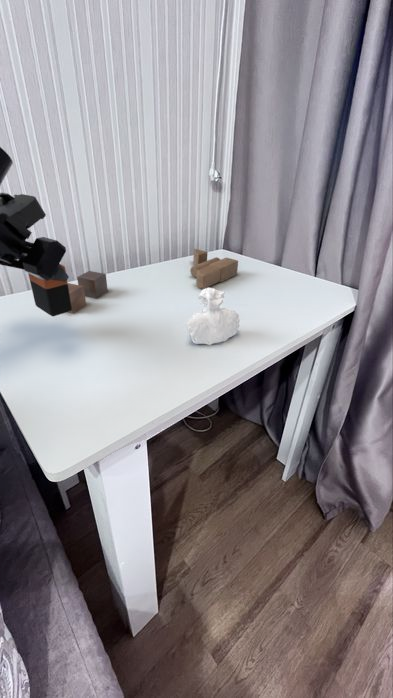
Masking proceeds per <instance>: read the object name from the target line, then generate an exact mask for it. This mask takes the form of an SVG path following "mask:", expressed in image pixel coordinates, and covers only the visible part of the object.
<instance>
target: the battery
mask: <svg viewBox="0 0 393 698" xmlns="http://www.w3.org/2000/svg"><path fill="white" fill-rule="evenodd" d="M60 265H61V266H62V268H63V269H64V271H65V272H66V273H67V270H66V266H65V265H63V264H61V263H60ZM27 273H28V272H27ZM27 275H28V279H29V282H30V288H31V291H32V295H33V300H34V304H35V306H36V307H37V308H38V309H39V310H42V311H43V312H44V313H46V314H48V315H49V316H51V317H57V316H60V315H63V314H65V313H67V312H69V311H71V310H72V306H71V300H70V294H69V288H68V283H69V282H68V280H67V281H66V282H64V281H57V280H48V281H46V280H43V279H40V278H37V277H34V276H32V275H31V274H29V273H28V274H27Z"/></svg>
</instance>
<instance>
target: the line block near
mask: <svg viewBox="0 0 393 698" xmlns="http://www.w3.org/2000/svg"><path fill="white" fill-rule="evenodd" d="M67 283H68V288H69V294H70V300H71V306H72V310H71V311H69V312H66V313H68V314H72V315H73V314H76V313H77V312H78V311H80V310H81V309H84V308H85V307H87V302H86V301H87V300H86V297H85V293H84V286H80V285H78V284H76V283H75V284H74V283H72V282H71V283H69V282H67Z"/></svg>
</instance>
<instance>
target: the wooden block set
mask: <svg viewBox="0 0 393 698" xmlns="http://www.w3.org/2000/svg"><path fill="white" fill-rule="evenodd" d="M192 259H193V260H192V261H193V262H192V263H193V266H191V267H190V269H189V272H190V275H191V276H192V277H193V278H196V281H195V282H196V287H197V288H199V289H201V290H203V289H205V288H206V289H207V288H210V287H211V286H213V285H215V284H217V283H223V282H224V281H227V280H229V279H231V278H234V277H235V276H237V274H238V267H239V260H238V259H234V258H230V257H224V258H219V257H217V256H216V257H213V258H211V259H208V251H205V250H201V249H198V248H193V258H192Z"/></svg>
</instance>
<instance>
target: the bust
mask: <svg viewBox="0 0 393 698" xmlns="http://www.w3.org/2000/svg"><path fill="white" fill-rule="evenodd" d="M225 293H226V292H225V291H220V290H217V289H216V288H214V287H207V288H205V289H201V291H200V293H199V295H198V296H197V299H198V300H199V305H203V308H202V311H200V312H196V313H194V314H193V315H192V316H191V317H189V318H188V320H187V321H186V324H185V327H186V330H187V332H188V335H189V337H190V339H191V341H192V342H193V343H194V344H198V345H207V346H211V345H213V344H219V343H222V342H226V341H228V339H230V338H232V337H234V336H235V335H236V334H237V333H238V331H239V328H240V321H241V319H240V315H239V313H238V312H237V311H236V310H234V309H230V308H227V307H222V308H220V307H221V305H222V304H224V298H225Z"/></svg>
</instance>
